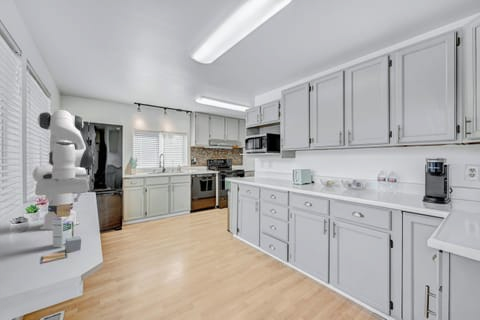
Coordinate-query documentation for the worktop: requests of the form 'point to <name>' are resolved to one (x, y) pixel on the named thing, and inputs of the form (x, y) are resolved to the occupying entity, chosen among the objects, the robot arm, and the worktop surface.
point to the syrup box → (62, 230)
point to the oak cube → (63, 210)
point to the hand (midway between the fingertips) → (63, 202)
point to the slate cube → (73, 244)
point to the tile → (53, 257)
